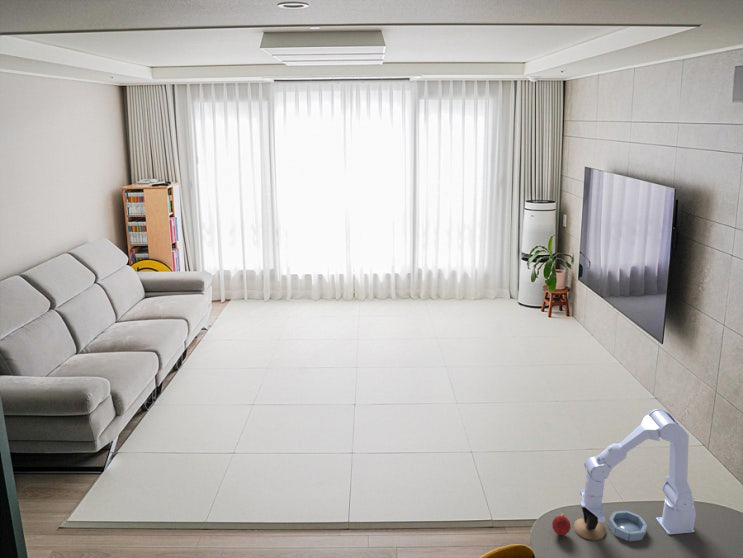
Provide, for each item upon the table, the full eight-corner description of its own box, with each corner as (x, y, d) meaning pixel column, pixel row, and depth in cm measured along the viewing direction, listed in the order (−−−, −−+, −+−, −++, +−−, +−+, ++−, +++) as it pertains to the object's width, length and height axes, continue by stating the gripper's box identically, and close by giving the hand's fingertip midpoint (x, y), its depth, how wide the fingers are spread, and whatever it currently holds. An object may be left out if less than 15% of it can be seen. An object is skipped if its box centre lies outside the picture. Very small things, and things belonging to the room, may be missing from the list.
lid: (597, 518, 223) (598, 508, 222) (610, 538, 214) (611, 528, 212) (569, 521, 222) (570, 510, 221) (581, 541, 213) (582, 530, 211)
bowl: (634, 516, 223) (635, 509, 222) (651, 539, 213) (652, 531, 212) (603, 519, 222) (604, 512, 221) (619, 542, 212) (620, 534, 211)
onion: (570, 541, 212) (572, 521, 210) (552, 539, 214) (553, 519, 211) (568, 529, 218) (570, 510, 215) (551, 527, 219) (552, 507, 216)
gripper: (573, 479, 219) (569, 512, 224) (591, 507, 206) (587, 542, 210) (593, 477, 220) (589, 510, 224) (613, 505, 206) (608, 539, 211)
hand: (589, 525), depth 217 cm, fingers closed on lid, 2 cm apart
